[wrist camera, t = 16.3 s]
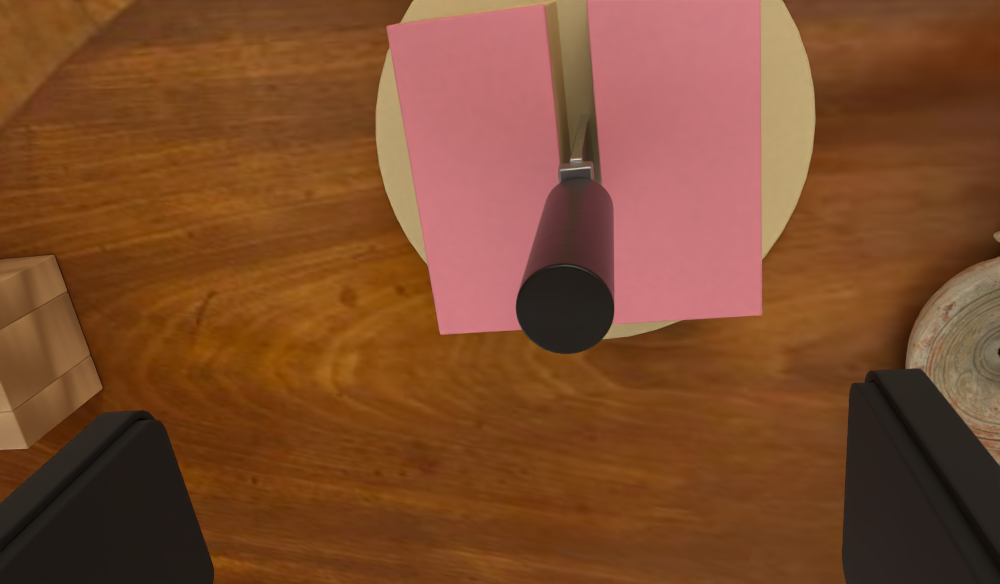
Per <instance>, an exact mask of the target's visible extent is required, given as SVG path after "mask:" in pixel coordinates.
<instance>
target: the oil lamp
mask: <svg viewBox="0 0 1000 584" xmlns="http://www.w3.org/2000/svg"><path fill="white" fill-rule="evenodd" d="M994 238H995V239H996V240H997V241H998V242H1000V231H998V232H996V233H994ZM905 367H906V369H912V368H919V369H921V370H922V371H924V372H925V373H926V375H927V376H928V377H929V378H930V380H931V381H932V382H933V383H934V385H935V386H936V387H937V388H938V390H939V391H940V392H941V393H942V395H943V396H944V397H945V398H946V400H947V401H948V402H949V403H950V404H951V406H952V407H953V408H954V409H955V411H956V412H957V413H958V414H959V416H960V417H961V418H962V419H963V421H964V422H965V423H966V424H967V426H968V427H969V428H970V429H971V431H972V432H973V433H974V434H975V436H976V437H977V438H978V439H979V441H980V442H981V443H982V444H983V446H984V447H985V448H986V449H987V450H988V452H989V453H990V454H991V455H992V457H993V458H994V459H995V460H996V462H997V463H998V464H999V465H1000V256H999V257H997V258H995V259H990V260H986V261H983V262H980V263H977V264H975V265H973V266H971V267H968V268H966V269H965V270H963V271H961V272H960V273H958V274H956V275H955V276H954V277H952V278H951V279H950V280H948V281H947V282H946V283H945V284H944V285H943V286H942V287H941V288H940V289H939V290H938V291H936V292H935V293H934V294H933V295H932V297H931V298H930V299H929V300H928V302H927V303H926V304H925V305H924V307H923V308H922V310H921V312H920V313H919V315H918V317H917V319H916V321H915V323H914V326H913V328H912V331H911V334H910V338H909V341H908V348H907V355H906V366H905Z"/></svg>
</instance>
